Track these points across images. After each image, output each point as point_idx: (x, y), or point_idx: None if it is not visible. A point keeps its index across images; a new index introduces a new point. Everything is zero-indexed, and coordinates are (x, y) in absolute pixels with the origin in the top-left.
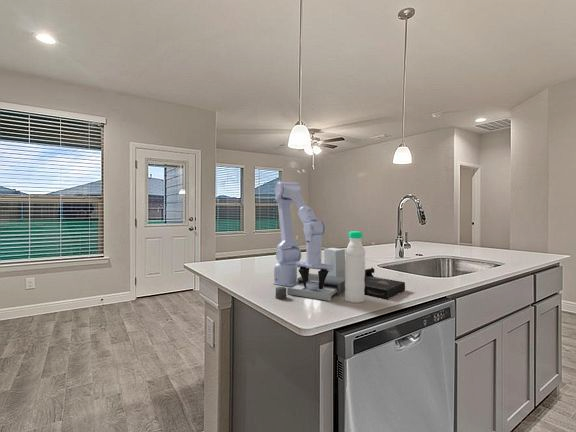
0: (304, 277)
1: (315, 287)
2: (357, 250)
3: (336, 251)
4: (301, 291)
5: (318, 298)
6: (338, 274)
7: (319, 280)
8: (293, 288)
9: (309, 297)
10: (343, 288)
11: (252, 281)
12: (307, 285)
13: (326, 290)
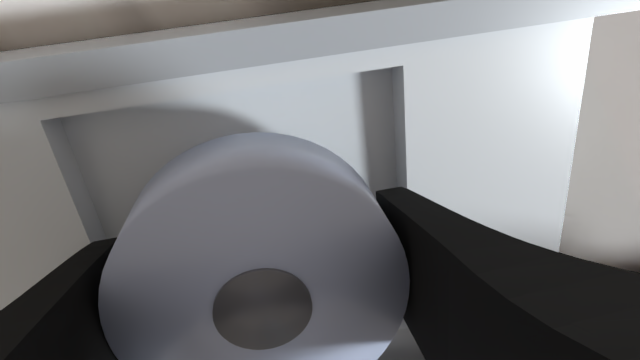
0: (470, 264)
1: (143, 192)
2: None
3: None
4: (357, 11)
5: (35, 48)
6: None
7: (11, 339)
8: (537, 5)
9: (200, 25)
10: None
11: None
12: (313, 156)
13: (20, 283)
